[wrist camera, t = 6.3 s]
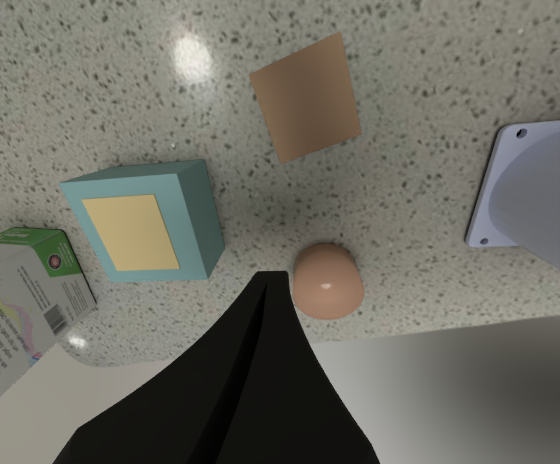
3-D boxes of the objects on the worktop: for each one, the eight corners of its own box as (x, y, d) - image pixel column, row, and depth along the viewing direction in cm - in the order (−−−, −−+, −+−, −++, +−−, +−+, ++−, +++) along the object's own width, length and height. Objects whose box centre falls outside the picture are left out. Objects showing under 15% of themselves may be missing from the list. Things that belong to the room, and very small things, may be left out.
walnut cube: (329, 52, 13) (340, 31, 9) (346, 128, 14) (361, 134, 11) (261, 83, 14) (248, 74, 10) (285, 151, 15) (280, 164, 12)
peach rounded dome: (354, 240, 18) (364, 263, 15) (355, 290, 20) (363, 317, 18) (289, 246, 19) (288, 269, 16) (297, 294, 21) (297, 321, 18)
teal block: (175, 173, 12) (56, 183, 13) (207, 280, 15) (109, 283, 16) (204, 158, 16) (110, 167, 17) (225, 247, 19) (145, 250, 20)
